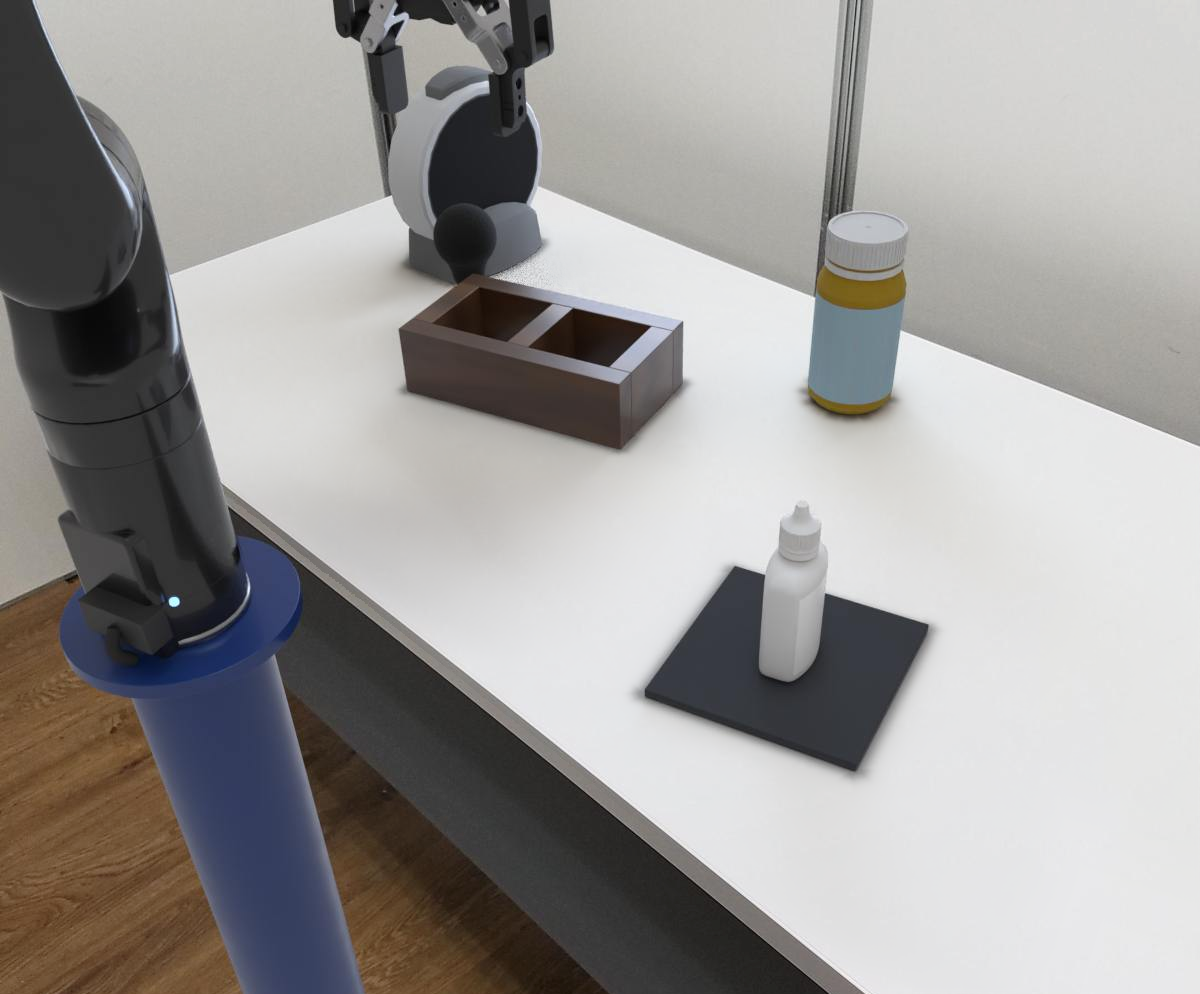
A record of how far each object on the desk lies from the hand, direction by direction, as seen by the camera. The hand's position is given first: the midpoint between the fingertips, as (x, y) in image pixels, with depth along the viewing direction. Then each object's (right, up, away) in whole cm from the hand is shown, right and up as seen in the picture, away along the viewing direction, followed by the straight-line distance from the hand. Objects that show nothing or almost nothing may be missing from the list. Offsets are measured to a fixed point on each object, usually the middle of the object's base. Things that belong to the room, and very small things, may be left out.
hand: (450, 121), depth 79 cm
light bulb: (-3, -2, +43) cm, 43 cm away
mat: (+22, -34, +3) cm, 40 cm away
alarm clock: (-3, +6, +52) cm, 52 cm away
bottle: (+30, -13, +28) cm, 43 cm away
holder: (+5, -11, +31) cm, 33 cm away
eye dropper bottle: (+22, -34, +3) cm, 40 cm away
